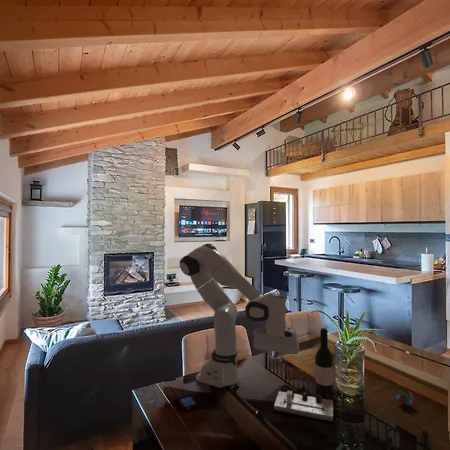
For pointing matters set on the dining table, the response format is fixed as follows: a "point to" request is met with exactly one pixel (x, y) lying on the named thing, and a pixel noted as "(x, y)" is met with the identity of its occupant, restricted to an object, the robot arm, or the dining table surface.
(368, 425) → the dining table surface
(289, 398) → the fader
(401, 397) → the geometric puzzle
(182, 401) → the handheld game console
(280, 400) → the console
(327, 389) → the wine bottle
